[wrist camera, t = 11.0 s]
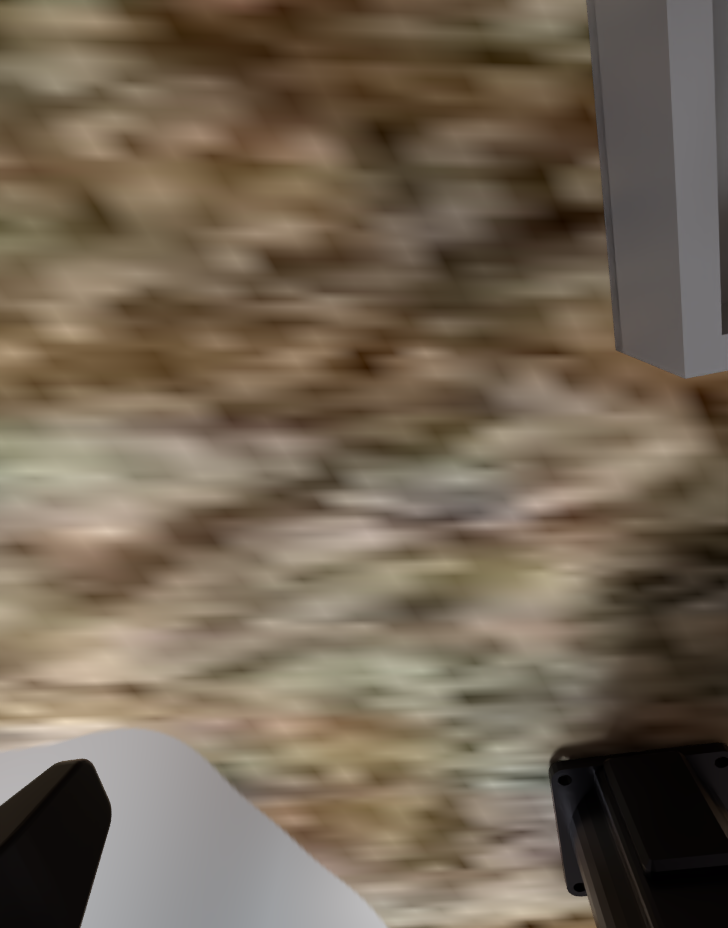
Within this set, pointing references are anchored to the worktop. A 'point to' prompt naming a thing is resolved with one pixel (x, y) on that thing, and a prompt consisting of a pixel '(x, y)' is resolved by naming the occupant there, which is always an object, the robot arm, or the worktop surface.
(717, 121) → the box
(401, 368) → the worktop surface
